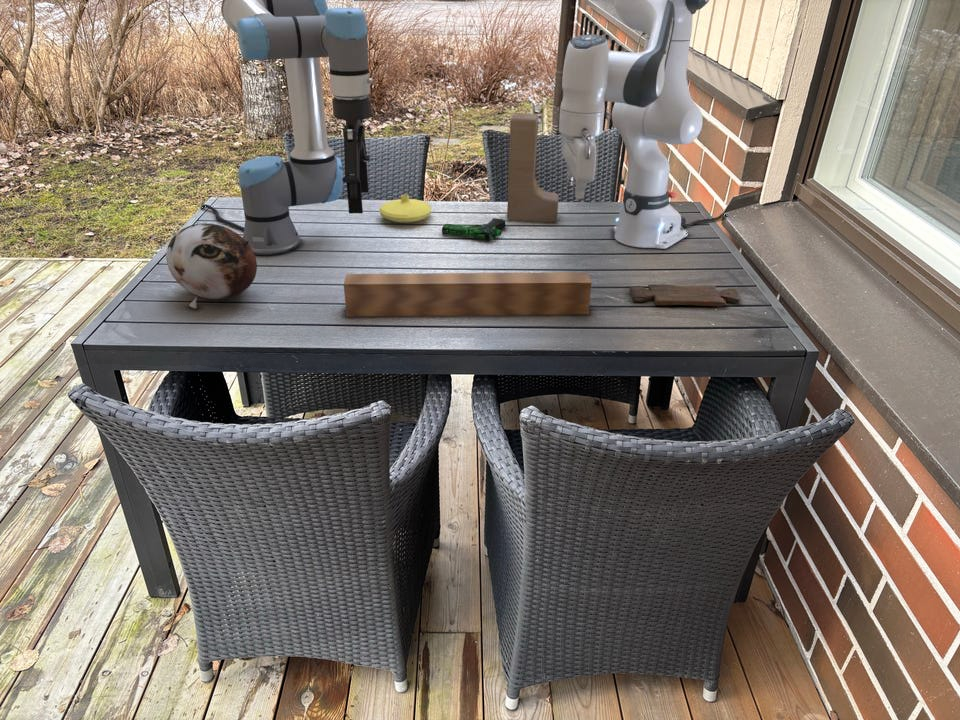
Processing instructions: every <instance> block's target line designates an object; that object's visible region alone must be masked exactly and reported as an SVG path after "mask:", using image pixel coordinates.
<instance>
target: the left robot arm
mask: <svg viewBox="0 0 960 720" xmlns="http://www.w3.org/2000/svg"><path fill="white" fill-rule="evenodd" d="M221 15H222V17H223V20H224V22H225V23H226V25H227V26H228V27H229V29H231V30H232V31H233V32H234V33H236V36H237V42H238V48H239V51H240V54H241V56H242V58H243V59H245V60H247V61H259V62H264V61H270V60H273V61H274V60H284V66H285V75H286V85H287V90H288V101H289V108H290V116H291V117H290V119H291V125H292V127H291V128H292V134H293V135H292V136H293V142H294V147H293V149H292V150H291V151H290V152H289V158H290V160H289V161H284V160H283V158H282V157H281V156H279V155H263V156H260V157H255V158H251V159H248V160H247V161H245V162H243V163H242V164H241V165H240V166H239V168H238V170H237V174H238V186H239V188H240V194H241V195H240V196H241V201H242V207H243V212H244V213H243V215H244V219H245V220H244V226H241V225H239V224H237V223H235V222H232V221H229V220H227V219H224V218H222V217H221V216H220V214H219V211H218V210H217V209H216V208H214V207H213V206H212V205H209V204H202V205H201V206H200V210H204V209H205V208H207V209H208V210H211V211H212V212H214V214H215V217H216V219H217V220H219V221H220V222H222V223H223V224H226V225H229V226H231V227H233V228H236V229H238V230H241V231H243V235H242V237H243V238H244V239H245V240H246V241H249V242H248V244H249V245H250V247H251V248H252V250H253V252H254V254H255V256H256V255H257V256H275V255H281V254H282V255H283V254H285V253H289V252H291V251H293V250H296V249H297V248H298V247H299V246H300V244H301V241H300V235H299V233H298V231H297V229H296V227H295V225H294V223H293V220H292V218H291V216H290V207H299V206H305V205H306V206H308V205H314V204H315V205H316V204H326V203H329V202H330V203H331V202H335V201H338V199H340V198H341V195H342V192H343V188H344V183H346V196H347V206H348V214H363V213H364V210H363V209H364V208H363V197H362V196H363V195H362V194H363V193H367V194H368V193H369V177H368V163H367V162H370V160H371V159H370V157H371V156H370V155H368V151H367V144H366V134H365V130H366V127H365V124H364V120H367V119H370V118H371V117H372V115H373V111H372V99H371V97H370V96H369V95H370V94H371V85H370V84H373V83H374V80H373V78H372V77H370V65H369V45H368V32H369V29H368V26H367V19H366V14H365V11H364V10H363V9H361V8H355V7H332V8H331V7H330V8H329V7H328V3H327V0H222V2H221ZM320 58H328V67H329V84H330V94H331V95H332V96H333V97H332V99H331V103H332V104H331V105H332V115H333V117H334V118H335V119H336V120H340V121H341V120H343V121H344V122H345V125H344V126H343V128H342V135H343V136H342V137H343V153H344V154H343V155H344V157H343V158H344V171H343V164H342V160H341V158H340V157H338V156H336V155H335V151H334V150H333V149H332V148H331V147H330V146H329V141H328V132H327V121H326V113H325V102H324V100H325V99H324V91H323V79H322V70H321V59H320ZM205 206H206V207H205ZM202 207H203V208H202Z"/></svg>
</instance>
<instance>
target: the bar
mask: <svg viewBox="0 0 960 720" xmlns="http://www.w3.org/2000/svg"><path fill="white" fill-rule="evenodd" d="M591 280H592V279H591V278H590V276H589V273H588V271H587V272H459V273H458V272H453V273H452V272H448V273H445V272H443V273H441V272H440V273H434V272H433V273H430V272H429V273H346V274H345V278H344V282H343V292H344V294H343V295H344V303H345V304H344V305H345V316H346V317H349V318H350V317H351V318H352V317H438V316H439V317H443V316H445V317H448V316H449V317H450V316H453V317H454V316H457V317H458V316H460V317H461V316H551V315H553V316H556V315H557V316H560V315H563V316H564V315H566V316H567V315H569V316H570V315H589V312H590V304H591V303H590V302H591V292H592V284H593V283H592V281H591Z"/></svg>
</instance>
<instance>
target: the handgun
mask: <svg viewBox="0 0 960 720" xmlns="http://www.w3.org/2000/svg"><path fill="white" fill-rule="evenodd" d="M505 228H506V220H505V219H503V218H497V217H492V219H491V220H490V221H489V222H488V223H483V224H482V225H479V224H472V225H459V224H453V223H445V224H443V226H442V227H441V235H446V236H454V237H462V238H469V239H470V238H471V239H474V240H479V241H484V242H491V241H492V240H494V239H495V238H497V237H500V236H502V230H504V229H505Z"/></svg>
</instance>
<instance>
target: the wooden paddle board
mask: <svg viewBox="0 0 960 720" xmlns="http://www.w3.org/2000/svg"><path fill="white" fill-rule="evenodd" d="M629 290H630V296H631V299H632V301H633V302H635V303H643V302H648V301H651V300H654V303H655V305H656V306H703V307H705V306H706V307H707V306H708V307H725V306H726V305H727V302H729V303H735V304H738V303H739V302H740V297H739V294H738V291H737V289H735V288H727V289H721V290H717V289H716V285H675V284H648V285H647V288H645V287H643V286H641V285H631V286H630V287H629Z"/></svg>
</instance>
